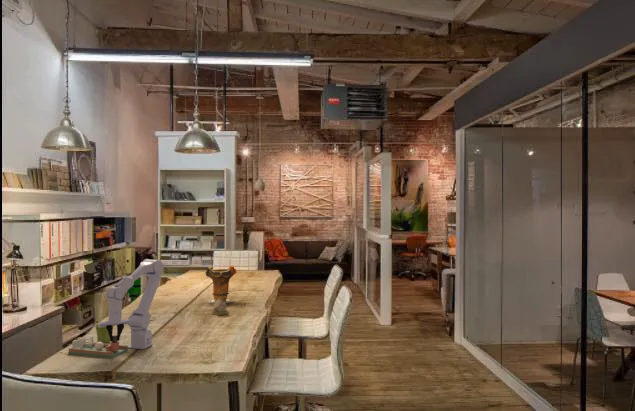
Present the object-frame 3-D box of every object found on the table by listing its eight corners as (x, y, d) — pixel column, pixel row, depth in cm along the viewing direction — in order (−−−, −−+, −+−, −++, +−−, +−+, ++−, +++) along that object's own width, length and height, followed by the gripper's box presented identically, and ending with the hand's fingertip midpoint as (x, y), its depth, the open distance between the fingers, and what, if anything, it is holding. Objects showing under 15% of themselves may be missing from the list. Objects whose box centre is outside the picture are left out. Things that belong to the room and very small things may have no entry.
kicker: (120, 349, 236) (121, 334, 236) (112, 352, 230) (113, 337, 230) (114, 348, 237) (114, 334, 237) (105, 351, 231) (106, 337, 231)
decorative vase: (202, 299, 376) (204, 262, 377) (232, 299, 383) (235, 263, 384) (204, 304, 356) (207, 265, 357) (236, 304, 363) (238, 266, 364)
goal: (93, 346, 241) (93, 336, 241) (81, 351, 233) (81, 340, 233) (84, 346, 242) (84, 335, 242) (72, 350, 234) (72, 340, 234)
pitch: (127, 350, 239) (127, 345, 239) (111, 357, 227) (111, 352, 227) (86, 347, 244) (86, 342, 244) (68, 353, 233) (68, 348, 233)
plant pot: (108, 338, 261) (108, 322, 261) (117, 341, 255) (117, 324, 255) (91, 342, 254) (91, 325, 254) (100, 345, 248) (100, 328, 248)
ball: (105, 349, 237) (105, 341, 237) (99, 351, 233) (100, 343, 233) (98, 348, 238) (98, 340, 238) (92, 351, 234) (92, 342, 234)
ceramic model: (230, 314, 325) (230, 299, 325) (213, 315, 320) (213, 300, 321) (225, 310, 338) (225, 295, 338) (209, 311, 333) (209, 296, 333)
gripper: (129, 309, 241) (129, 336, 241) (97, 312, 233) (96, 340, 233) (132, 311, 235) (132, 340, 235) (99, 314, 227) (99, 344, 227)
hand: (114, 340), depth 234 cm, fingers closed on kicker, 2 cm apart
